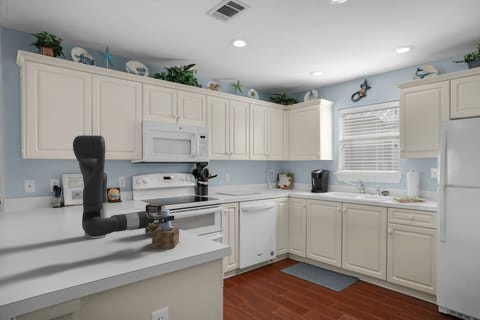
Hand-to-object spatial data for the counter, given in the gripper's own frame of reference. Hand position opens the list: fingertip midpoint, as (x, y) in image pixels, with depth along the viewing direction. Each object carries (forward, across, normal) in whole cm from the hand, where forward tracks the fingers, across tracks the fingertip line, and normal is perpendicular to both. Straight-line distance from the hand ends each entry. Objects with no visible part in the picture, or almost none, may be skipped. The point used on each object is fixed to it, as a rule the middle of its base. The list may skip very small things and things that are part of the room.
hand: (169, 216), depth 132 cm
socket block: (-2, 0, +13) cm, 13 cm away
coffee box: (+2, +22, +13) cm, 25 cm away
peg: (-2, 0, +11) cm, 11 cm away
